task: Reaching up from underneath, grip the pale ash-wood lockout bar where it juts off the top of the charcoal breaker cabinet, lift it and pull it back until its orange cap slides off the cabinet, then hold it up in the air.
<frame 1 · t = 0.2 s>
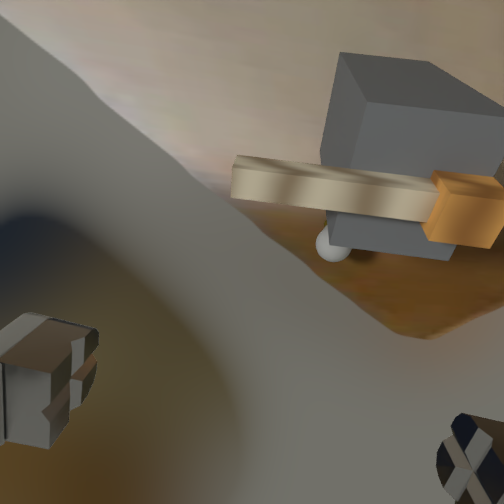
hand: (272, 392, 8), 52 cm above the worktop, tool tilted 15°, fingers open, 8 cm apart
breaker cabinet: (369, 110, 52), on the worktop
lockout bar: (356, 184, 32), point 26 cm above the worktop, touching breaker cabinet
light bulb: (331, 221, 65), on the worktop
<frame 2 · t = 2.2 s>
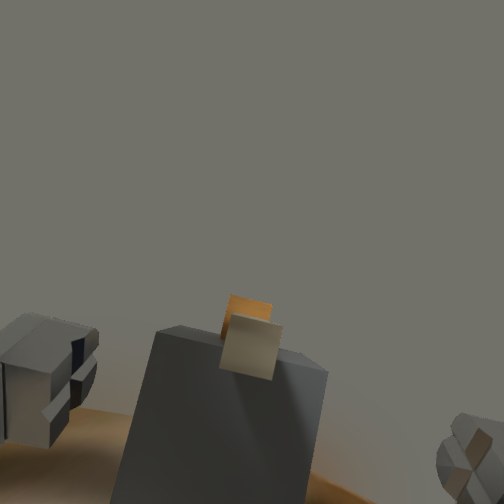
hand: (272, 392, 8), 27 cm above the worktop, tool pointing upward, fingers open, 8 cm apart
lockout bar: (242, 350, 29), point 26 cm above the worktop, touching breaker cabinet
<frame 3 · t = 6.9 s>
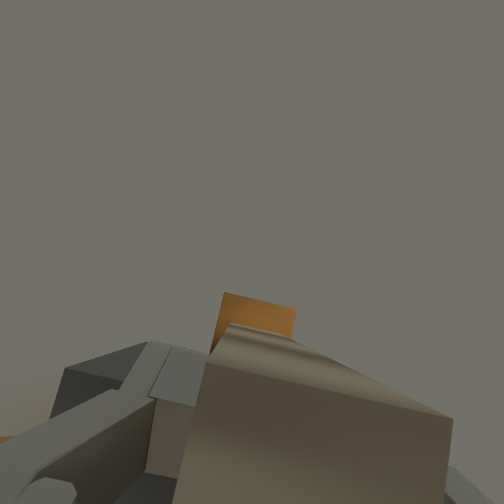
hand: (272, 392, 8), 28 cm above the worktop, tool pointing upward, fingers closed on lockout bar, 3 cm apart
lockout bar: (246, 403, 14), point 26 cm above the worktop, touching breaker cabinet, gripper
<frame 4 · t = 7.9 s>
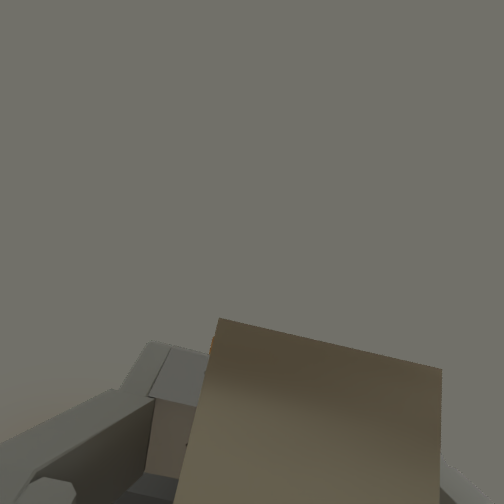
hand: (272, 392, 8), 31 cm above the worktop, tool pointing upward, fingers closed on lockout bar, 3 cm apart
lockout bar: (237, 445, 14), point 28 cm above the worktop, tilted 11°, touching gripper
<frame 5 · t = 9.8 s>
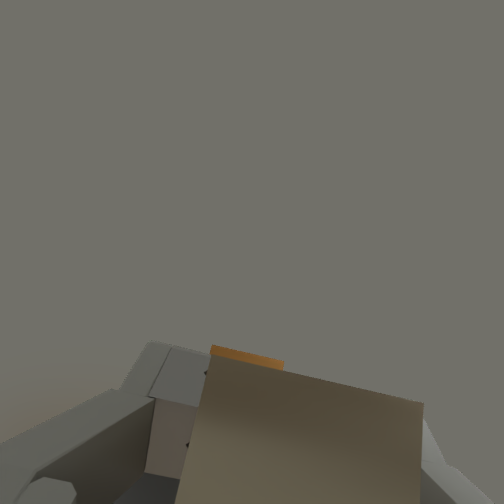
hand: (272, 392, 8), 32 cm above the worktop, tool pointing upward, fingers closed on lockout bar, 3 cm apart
lockout bar: (235, 455, 14), point 28 cm above the worktop, tilted 11°, touching gripper
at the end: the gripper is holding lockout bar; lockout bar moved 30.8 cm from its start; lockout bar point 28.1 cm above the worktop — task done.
